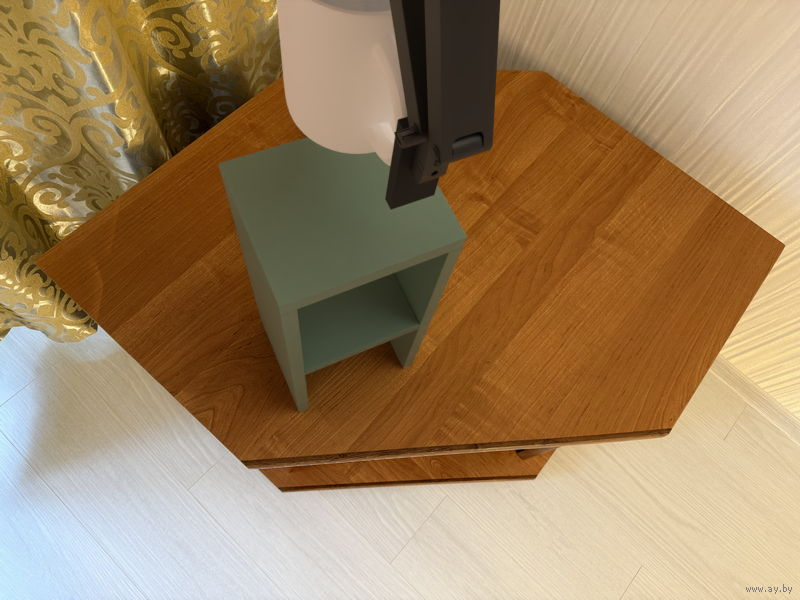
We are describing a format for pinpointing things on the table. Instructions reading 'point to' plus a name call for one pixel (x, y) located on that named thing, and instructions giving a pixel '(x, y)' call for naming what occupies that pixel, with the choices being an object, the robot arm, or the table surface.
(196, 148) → the table surface
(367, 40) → the mug
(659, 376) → the table surface
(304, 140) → the shelf
